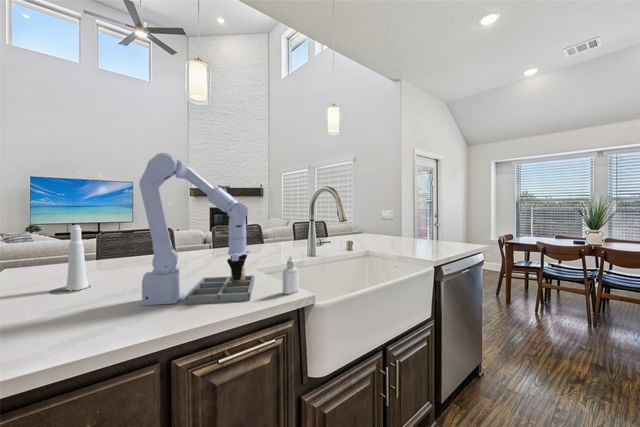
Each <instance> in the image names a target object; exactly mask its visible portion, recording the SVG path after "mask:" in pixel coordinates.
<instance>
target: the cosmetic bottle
mask: <svg viewBox="0 0 640 427" xmlns="http://www.w3.org/2000/svg"><path fill="white" fill-rule="evenodd" d="M69 230H70V242H69V243H68V260H67V262H68V265H67V266H68V267H67V279H66V285H65V291H66V290H69V291H68V292H72V290H76V291H81V290H80V289H82V290H85V289H87V287H88V288H89V282H88V277H87V270H86V260H85V258H86V257H85V248H84V242H83V241H82V227H81V225H77V224H75V225H71V228H70V229H69ZM84 288H85V289H84Z"/></svg>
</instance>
